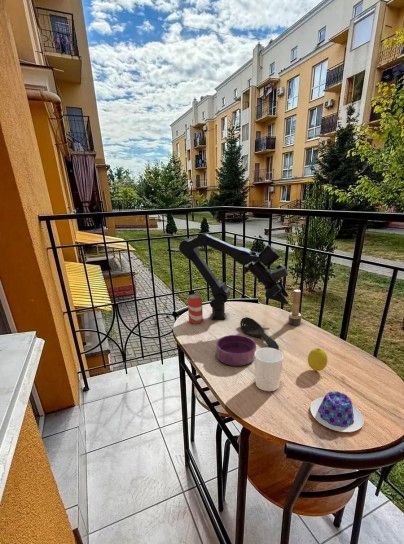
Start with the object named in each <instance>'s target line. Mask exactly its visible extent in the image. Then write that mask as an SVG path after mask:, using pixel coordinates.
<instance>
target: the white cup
mask: <svg viewBox="0 0 404 544" xmlns="http://www.w3.org/2000/svg"><path fill="white" fill-rule="evenodd" d="M283 362H284V353H283V352H282V351H280V349H279V350H277V349H274V348H269V347H260V348H258V349H256V351H255V359H254V377H255V385H256V387H257V389H260V390H261V391H264V392H274V391H276V390H279V387H280V383H281V378H282V371H283Z"/></svg>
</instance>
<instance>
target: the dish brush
mask: <svg viewBox="0 0 404 544" xmlns="http://www.w3.org/2000/svg"><path fill="white" fill-rule="evenodd" d="M301 294H302V290H300V289H294V290H293V295H292V305H291V312H289V313H288V320H287V322H288V323H287V324H288V325H291V326H296V327H297V326H300V325H301V323H302V314H301V313H300V305H301Z"/></svg>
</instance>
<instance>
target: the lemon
mask: <svg viewBox="0 0 404 544" xmlns="http://www.w3.org/2000/svg"><path fill="white" fill-rule="evenodd" d="M327 364H328V355H327V352H326V351H325V350H324V349H322V348H320V347H316V348H313V349H311V350H310V352H309V353H308V355H307V365H308V366H309V367H310V369H312V370H313V371H314V372H320V371H323V370H324V369H325V368H326V367H327Z"/></svg>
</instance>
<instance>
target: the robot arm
mask: <svg viewBox="0 0 404 544" xmlns="http://www.w3.org/2000/svg"><path fill="white" fill-rule="evenodd" d="M203 245H205V246H207V247H209V248H212V249H214V250H216V251H218V252H221V253H223V254H225V255H227V256H229V257H230V258H231V259H232V260H234V261H235V262H237V263H238V264H240V265H241V266H244V267H243V269H244V274H247V273H248V272H250V273H251V274H252V276H253V277H254V278H255V279H256V280H257V282H258V283H259V284H262V286H264V290H265V293H264V296H265V297H266V298H267V300H272V301H276V302H278V303H280V304H283V305H285V306H286V305H289V301H288V300H287V298H288V297H289V294H288V292H287V289H285V287H284V285H283V278H286V277H287V276H288V275H289V273H288V270H287V267H286V266H285V265H282V264H281V263H280V264H277V265H276V268H275V269H274V270H272V269H269V268H267V267H271V266H272V265H273V264H274V263H275V262H276V261H278V260H279V258H281V254H280V253H279V252H278V251H277V250H276V249H275V248H274V247H272V246H271V245H270V244H267V245H266V246H265V247H264V248H263V249H262V250H261V251H260V252H258V251H252V250H251V249H250V248H247V247H242V246H237V245H232V244H230V243H228V242H226V241H224V240H221V239H219V238H216V237H215V236H212V235H210V234H209V233H203V234H201V235H199V236H197V237H195V238H186V239H184V240H182V241H181V242H180V243H179V245H178V250H179V252H180V253H181V254H182V255H183V256H184V257H185V258H186V259H187V260H190V261H191V263H193V265H194V266H195V268H196V270H197V272H198V273H199V274H201V277H202V278H203V279H204V281H205V283H207V285H208V286H209V288H210V291H211V295H212V297H213V298H212V299H211V301H210V302H209V306H210V308H211V317H210V320H213V321H214V320H215V321H216V320H217V321H218V320H226V319H227V318H226V317H227V315H226V311H225V310H226V309H225V308H226V307H225V305H226V303H227V301H228V300H229V298H230V296H231V291H230V290H231V289H230V287H228V285H227V283H226V282H225V281H224V282H223V283H222V282H221V281H219V279H218V278H217V276H216V275H215V274H214V272H213V270H212V269H211V268H210V267H209V265H208V264H207V262H206V261H205V260H204V258H203V257H202V255H201V253H200V249H199V247H201V246H203Z"/></svg>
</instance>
